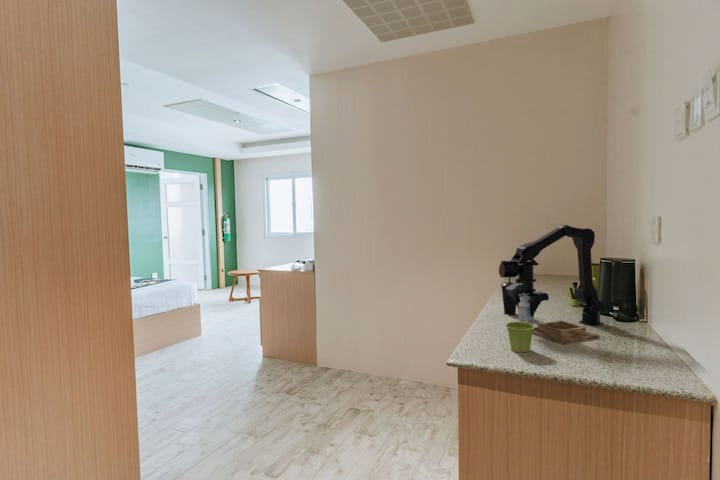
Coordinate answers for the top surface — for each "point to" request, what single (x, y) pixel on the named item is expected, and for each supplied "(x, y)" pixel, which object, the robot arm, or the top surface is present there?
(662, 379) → the top surface
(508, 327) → the plant pot
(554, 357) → the top surface
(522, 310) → the pill bottle
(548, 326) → the holder
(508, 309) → the drinking cup
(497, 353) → the top surface
